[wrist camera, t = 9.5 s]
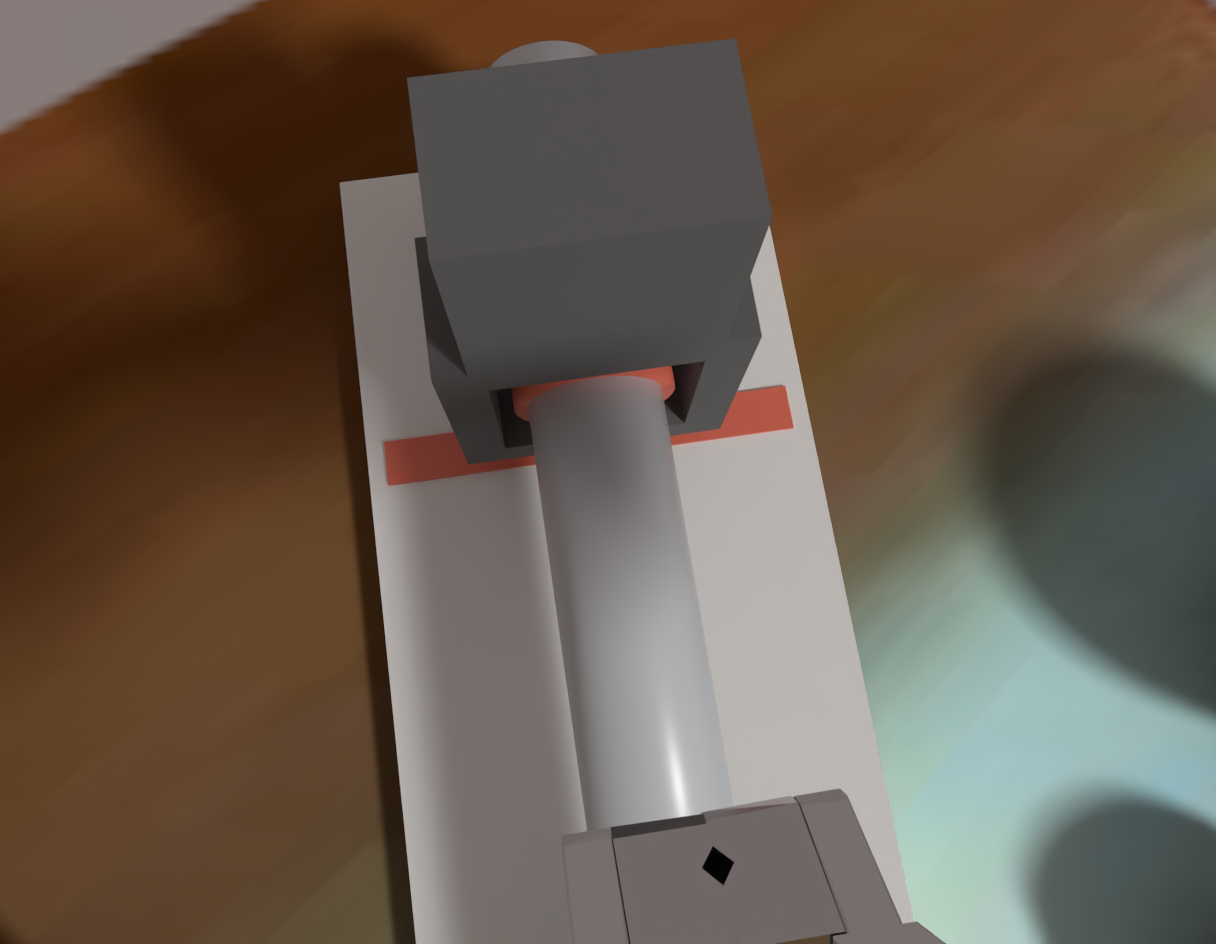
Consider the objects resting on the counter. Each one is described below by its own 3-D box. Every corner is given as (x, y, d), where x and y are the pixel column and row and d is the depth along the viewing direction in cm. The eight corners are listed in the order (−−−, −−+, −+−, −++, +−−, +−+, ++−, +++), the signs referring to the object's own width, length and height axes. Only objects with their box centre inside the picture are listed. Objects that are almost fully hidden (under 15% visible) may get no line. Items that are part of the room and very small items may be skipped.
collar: (719, 429, 26) (819, 210, 15) (468, 464, 26) (380, 268, 15) (699, 319, 27) (780, 32, 16) (454, 352, 26) (360, 83, 15)
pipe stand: (948, 1142, 25) (1108, 1325, 17) (452, 1233, 24) (391, 1466, 17) (744, 149, 31) (796, -36, 23) (347, 199, 30) (268, 25, 23)
